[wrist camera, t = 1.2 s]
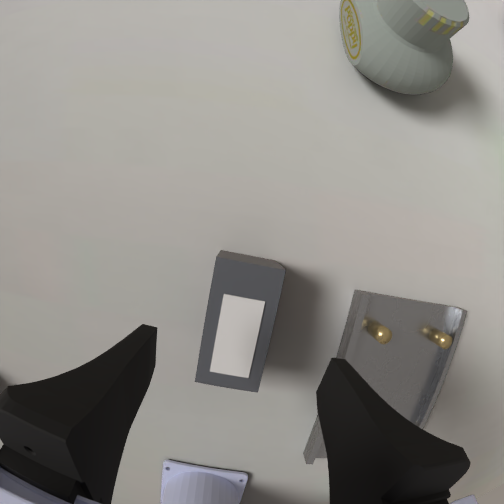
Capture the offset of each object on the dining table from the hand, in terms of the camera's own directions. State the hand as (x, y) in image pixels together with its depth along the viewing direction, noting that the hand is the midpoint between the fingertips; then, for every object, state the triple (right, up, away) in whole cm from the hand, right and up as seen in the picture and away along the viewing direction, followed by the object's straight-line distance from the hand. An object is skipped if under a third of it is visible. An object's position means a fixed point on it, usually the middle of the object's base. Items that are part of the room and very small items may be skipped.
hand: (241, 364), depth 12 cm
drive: (-1, 0, +11) cm, 11 cm away
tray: (+12, -7, +12) cm, 19 cm away
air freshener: (+12, +22, +10) cm, 27 cm away
